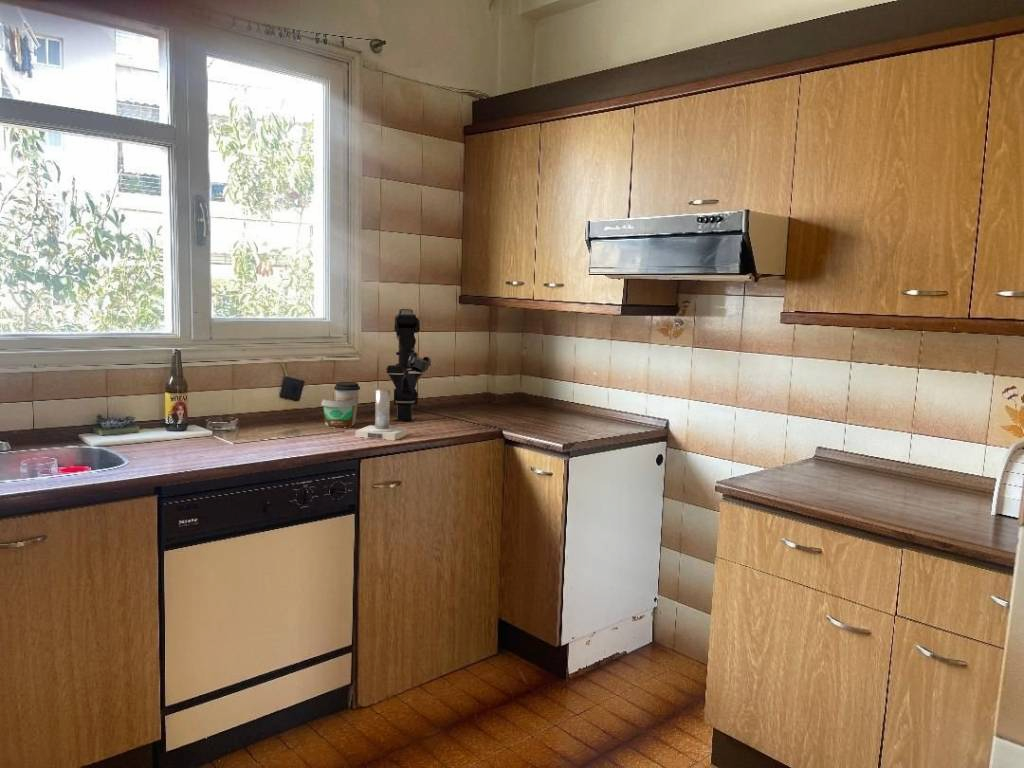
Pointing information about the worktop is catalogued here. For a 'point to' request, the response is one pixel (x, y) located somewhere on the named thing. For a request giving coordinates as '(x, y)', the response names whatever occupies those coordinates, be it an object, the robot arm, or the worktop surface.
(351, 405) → the food container
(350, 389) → the coffee cup
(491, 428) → the worktop surface
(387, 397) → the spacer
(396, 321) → the robot arm
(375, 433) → the scale
